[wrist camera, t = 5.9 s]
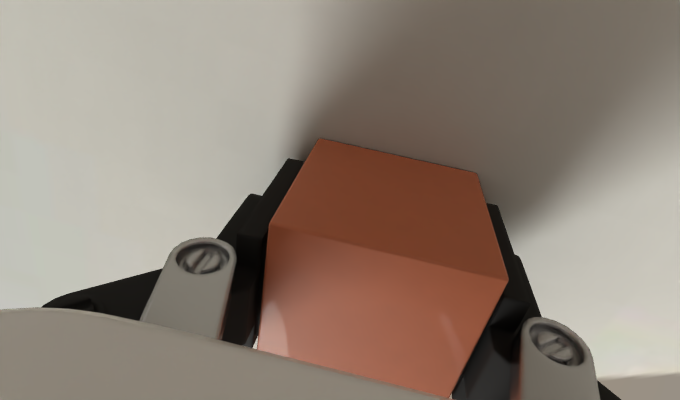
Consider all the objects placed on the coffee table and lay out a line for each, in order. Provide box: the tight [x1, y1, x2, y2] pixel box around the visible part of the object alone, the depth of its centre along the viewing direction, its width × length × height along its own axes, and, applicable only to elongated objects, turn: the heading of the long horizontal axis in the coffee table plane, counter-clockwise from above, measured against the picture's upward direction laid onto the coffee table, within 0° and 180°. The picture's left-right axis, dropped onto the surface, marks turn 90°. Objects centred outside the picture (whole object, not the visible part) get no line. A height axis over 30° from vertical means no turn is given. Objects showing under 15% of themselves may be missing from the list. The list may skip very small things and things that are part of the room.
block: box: [257, 138, 509, 398], centre depth 10 cm, size 4×4×4 cm
